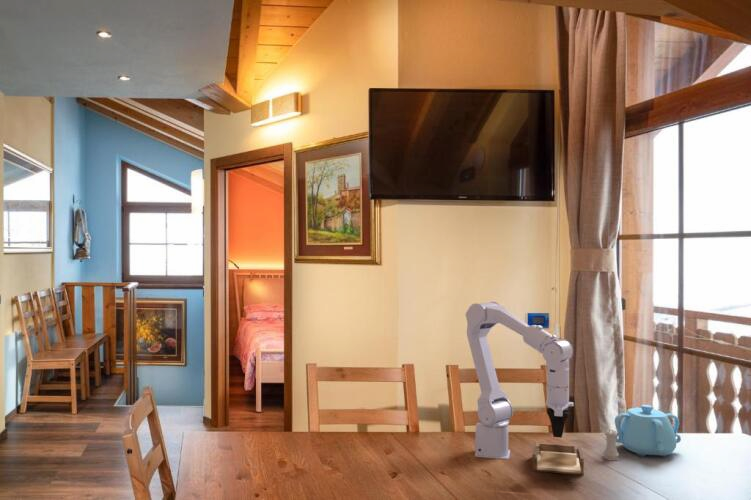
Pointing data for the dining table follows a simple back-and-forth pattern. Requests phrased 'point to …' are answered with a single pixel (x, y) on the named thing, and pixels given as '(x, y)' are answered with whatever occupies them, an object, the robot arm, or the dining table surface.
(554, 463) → the lid
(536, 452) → the box
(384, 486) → the dining table surface
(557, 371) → the robot arm
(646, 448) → the decorative pot
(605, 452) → the rook chess piece
